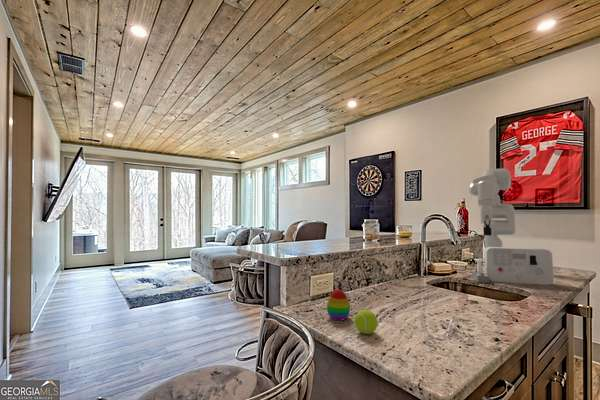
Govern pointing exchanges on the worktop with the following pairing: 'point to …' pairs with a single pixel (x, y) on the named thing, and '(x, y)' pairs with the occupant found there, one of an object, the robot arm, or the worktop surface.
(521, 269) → the rounded white slab
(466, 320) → the worktop surface
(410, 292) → the worktop surface
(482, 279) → the breaker block
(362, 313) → the tennis ball
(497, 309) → the worktop surface
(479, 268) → the breaker handle
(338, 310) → the decorative egg
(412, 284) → the worktop surface
